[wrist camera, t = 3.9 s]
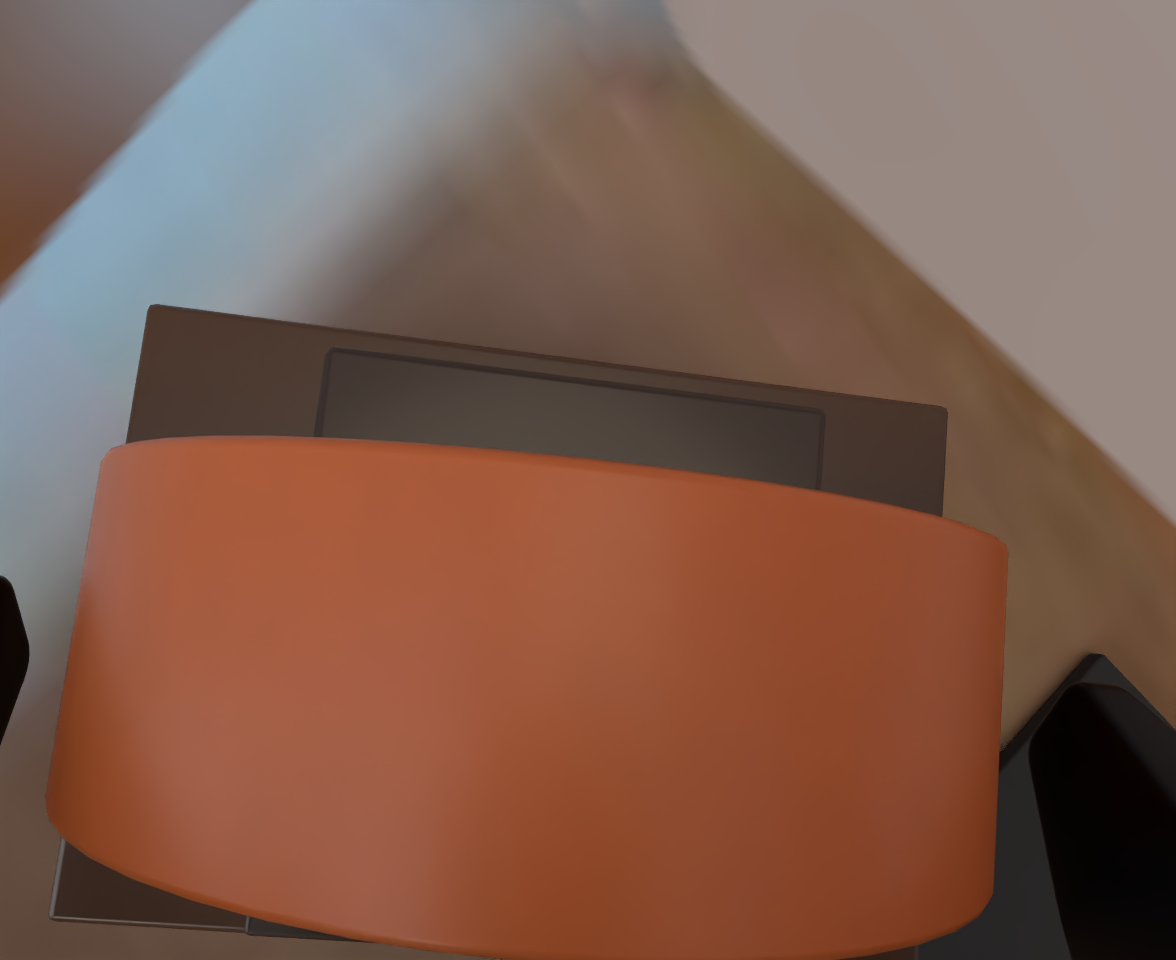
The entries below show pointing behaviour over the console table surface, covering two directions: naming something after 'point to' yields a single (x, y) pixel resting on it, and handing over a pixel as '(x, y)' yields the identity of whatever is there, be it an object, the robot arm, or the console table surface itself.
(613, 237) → the console table surface
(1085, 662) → the mat
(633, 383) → the brown notched block
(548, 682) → the disc
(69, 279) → the console table surface
